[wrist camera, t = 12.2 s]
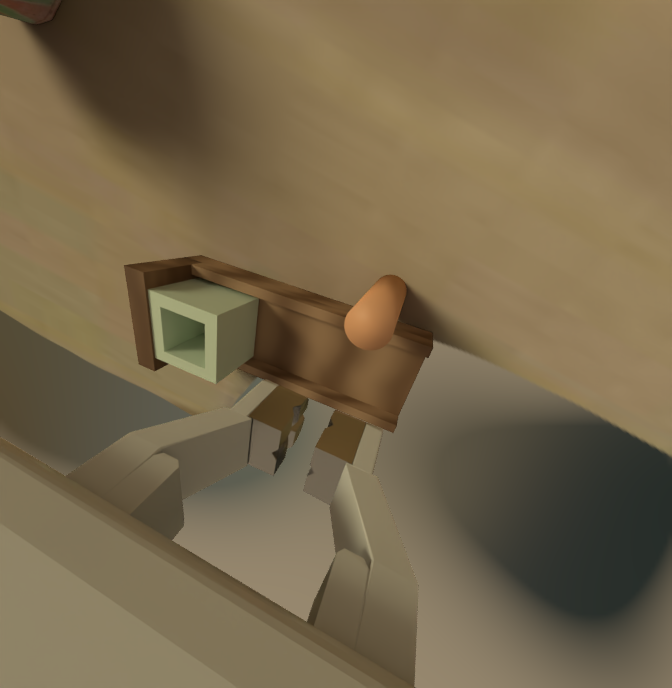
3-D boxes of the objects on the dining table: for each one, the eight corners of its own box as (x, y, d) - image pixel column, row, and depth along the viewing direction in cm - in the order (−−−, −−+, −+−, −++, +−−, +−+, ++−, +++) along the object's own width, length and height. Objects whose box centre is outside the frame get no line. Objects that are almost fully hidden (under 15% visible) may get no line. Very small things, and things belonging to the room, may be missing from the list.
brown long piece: (432, 332, 25) (434, 378, 17) (396, 411, 29) (386, 473, 22) (201, 255, 29) (124, 265, 22) (202, 334, 34) (138, 364, 26)
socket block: (259, 297, 26) (217, 315, 21) (253, 356, 30) (215, 384, 24) (200, 277, 28) (147, 289, 22) (201, 335, 31) (155, 357, 26)
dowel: (411, 280, 23) (401, 312, 15) (400, 311, 25) (384, 357, 16) (379, 270, 24) (351, 296, 15) (370, 301, 25) (339, 340, 17)
